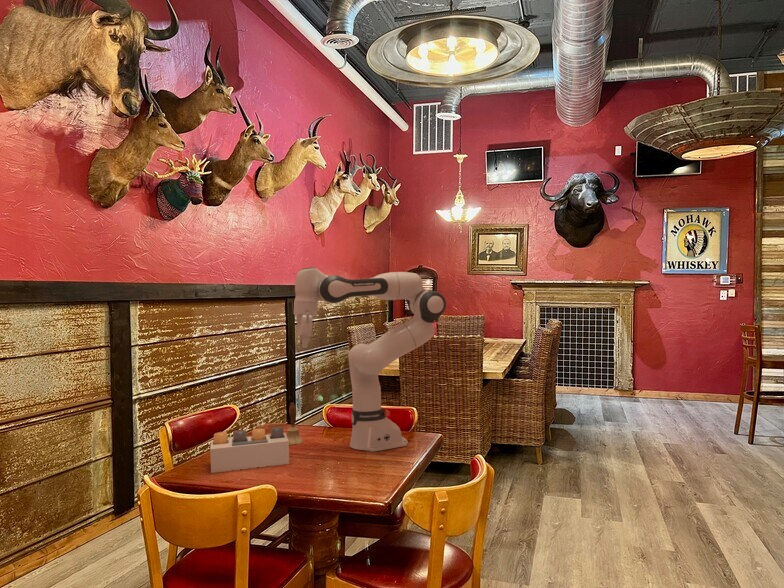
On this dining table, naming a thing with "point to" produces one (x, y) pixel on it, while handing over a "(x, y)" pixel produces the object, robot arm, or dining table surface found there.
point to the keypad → (249, 453)
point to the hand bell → (293, 428)
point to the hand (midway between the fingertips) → (303, 347)
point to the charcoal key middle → (239, 436)
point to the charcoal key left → (276, 432)
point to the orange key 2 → (258, 434)
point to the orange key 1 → (220, 438)
